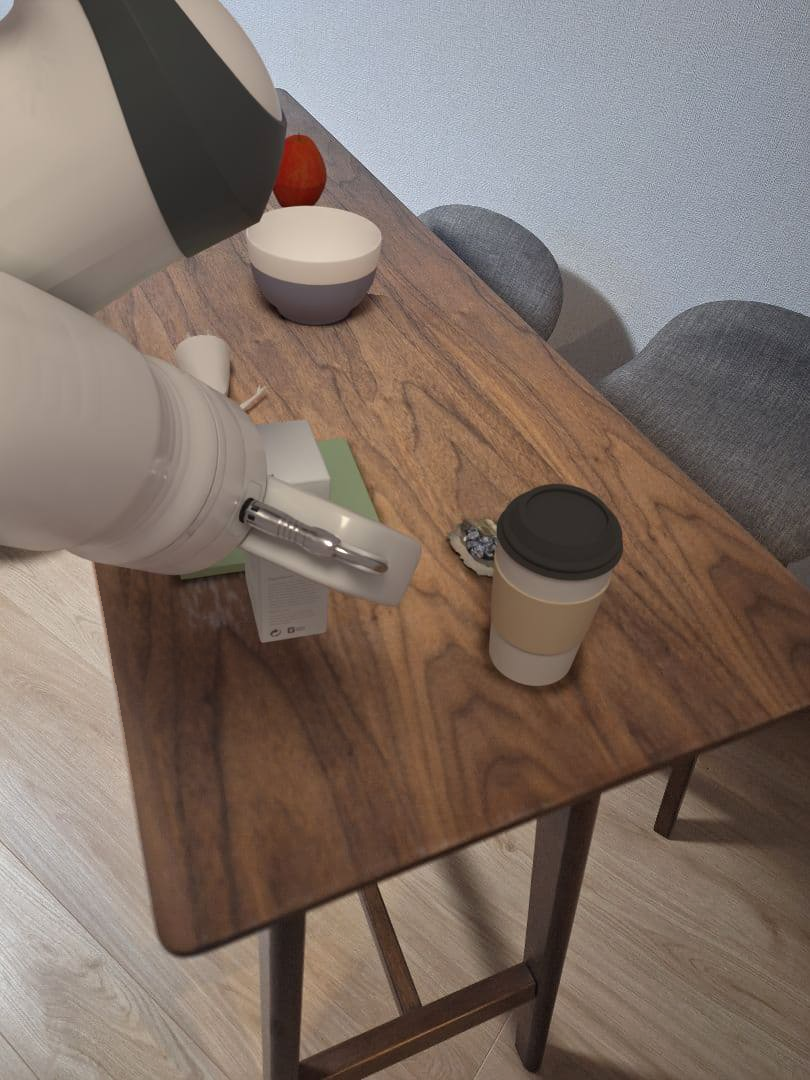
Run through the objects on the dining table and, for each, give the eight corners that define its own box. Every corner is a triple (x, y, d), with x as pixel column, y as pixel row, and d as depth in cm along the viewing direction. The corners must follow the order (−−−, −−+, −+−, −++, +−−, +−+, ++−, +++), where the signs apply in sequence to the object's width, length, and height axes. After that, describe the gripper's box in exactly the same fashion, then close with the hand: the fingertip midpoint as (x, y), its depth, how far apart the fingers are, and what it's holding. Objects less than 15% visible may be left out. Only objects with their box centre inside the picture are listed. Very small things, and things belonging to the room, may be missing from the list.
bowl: (360, 349, 107) (364, 272, 100) (230, 326, 108) (225, 249, 102) (389, 289, 118) (394, 217, 112) (271, 269, 120) (270, 197, 114)
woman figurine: (250, 318, 101) (283, 418, 89) (251, 352, 104) (283, 453, 92) (142, 326, 98) (161, 431, 86) (146, 361, 101) (165, 467, 89)
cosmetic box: (329, 634, 56) (333, 480, 48) (260, 645, 55) (252, 490, 47) (308, 567, 60) (309, 415, 52) (244, 577, 59) (234, 423, 51)
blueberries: (476, 513, 86) (478, 498, 84) (547, 554, 82) (551, 538, 81) (432, 548, 82) (434, 532, 80) (505, 592, 78) (508, 576, 77)
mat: (180, 580, 76) (179, 571, 76) (162, 466, 88) (161, 457, 87) (387, 550, 81) (388, 542, 80) (345, 445, 92) (345, 437, 92)
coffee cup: (458, 672, 71) (483, 527, 61) (495, 598, 77) (523, 455, 67) (570, 713, 69) (615, 569, 59) (598, 633, 75) (643, 492, 65)
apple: (323, 220, 133) (324, 145, 126) (267, 216, 133) (265, 139, 126) (328, 199, 139) (329, 125, 132) (274, 194, 139) (272, 120, 132)
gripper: (393, 490, 37) (468, 536, 50) (21, 339, 44) (174, 415, 57) (332, 632, 37) (423, 641, 50) (-31, 460, 44) (133, 508, 57)
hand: (288, 520), depth 54 cm, fingers closed on cosmetic box, 7 cm apart
